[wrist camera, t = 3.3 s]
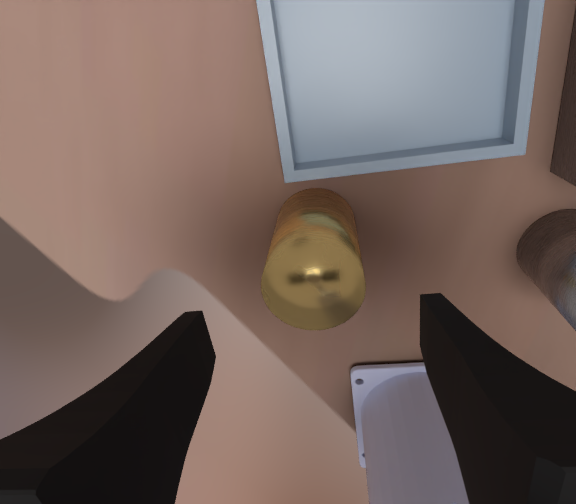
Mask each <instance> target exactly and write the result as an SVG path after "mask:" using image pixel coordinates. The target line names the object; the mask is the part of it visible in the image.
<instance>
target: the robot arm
mask: <svg viewBox="0 0 576 504" xmlns="http://www.w3.org/2000/svg"><path fill="white" fill-rule="evenodd" d="M420 347H421V352H422V356H423V360H424V362H420V363H400V364H381V365H361V366H354V367H353V368H352V369H351V371H350V375H351V385H352V395H353V404H354V414H355V424H356V434H357V443H358V453H359V463H360V466H361V467H363V468H366V474H367V485H368V495H369V504H576V391H574V390H572V389H570V388H568V387H567V386H565V385H563V384H561V383H559V382H557V381H555V380H554V379H552V378H550V377H548V376H547V375H545V374H543V373H542V372H540V371H538V370H537V369H535V368H534V367H532V366H530V365H529V364H527V363H526V362H524V361H523V360H521V359H519V358H518V357H516V356H515V355H514V354H512V353H511V352H509V351H508V350H507V349H505V348H504V347H502V346H501V345H500V344H498V343H497V342H496V341H494V340H493V339H492V338H491V337H489V336H488V335H487V334H486V333H485V332H483V331H482V330H481V329H480V328H479V327H477V326H476V325H475V324H474V323H473V322H472V321H470V320H469V319H468V318H467V317H466V316H465V315H464V314H463V313H462V312H460V311H459V310H458V309H457V308H456V307H455V306H454V305H453V304H452V303H451V302H450V301H449V300H448V299H447V298H445V297H444V296H443V295H442V294H441V293H435V294H421V295H420ZM215 358H216V355H215V352H214V349H213V345H212V342H211V339H210V335H209V332H208V329H207V325H206V322H205V319H204V315H203V312H202V311H191V312H185V313H183V314H182V315H181V316H180V317H178V318H177V319H176V320H175V321H174V322H173V323H172V324H171V325H170V326H168V327H167V328H166V329H165V330H164V331H163V332H162V333H161V334H160V335H158V336H157V337H156V338H155V339H154V340H153V341H152V342H151V343H150V344H148V345H147V346H146V347H145V348H144V349H143V350H141V352H139V353H138V354H137V355H135V356H134V357H133V358H132V359H131V360H129V361H128V362H127V363H126V364H124V365H123V366H122V367H121V368H120V369H118V370H117V371H116V372H114V373H113V374H112V375H110V376H109V377H108V378H106V379H105V380H104V381H102V382H101V383H99V384H98V385H97V386H95V387H94V388H92V389H91V390H89V391H88V392H86V393H85V394H83V395H81V396H80V397H78V398H77V399H75V400H74V401H72V402H70V403H68V404H67V405H65V406H63V407H62V408H61V409H59V410H57V411H55V412H54V413H52V414H50V415H48V416H46V417H44V418H43V419H41V420H39V421H37V422H35V423H33V424H31V425H29V426H27V427H26V428H24V429H21V430H20V431H17V432H15V433H13V434H11V435H10V436H7V437H5V438H3V439H1V440H0V504H175V500H176V495H177V490H178V486H179V482H180V477H181V473H182V469H183V465H184V461H185V457H186V454H187V450H188V447H189V444H190V441H191V438H192V436H193V433H194V430H195V427H196V424H197V421H198V419H199V416H200V413H201V410H202V407H203V404H204V401H205V398H206V396H207V392H208V390H209V386H210V383H211V379H212V374H213V370H214V364H215ZM357 379H362V380H357Z"/></svg>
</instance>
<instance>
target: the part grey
mask: <svg viewBox="0 0 576 504" xmlns="http://www.w3.org/2000/svg"><path fill="white" fill-rule="evenodd" d="M517 260H518V263H519V265H520V267H521V268H522V270H523V271H524V272H525V273H526V274H527V276H528V277H529V278H530V279H531V280H532V281H533V282H534V284H535V285H536V286H537V287H538V288H539V289H540V290H541V292H542V293H543V294H544V295H545V296H546V297H547V299H548V300H549V301H550V302H551V303H552V304H553V305H554V307H555V308H556V309H557V310H558V311H559V312H560V313H561V315H562V316H563V317H564V318H565V319H566V320H567V321H568V323H569V324H570V325H571V326H572V327H573V328H574V330H575V331H576V209H565V210H559V211H555V212H552V213H550V214H547V215H545V216H543V217H541V218H540V219H538V220H537V221H535V222H534V223H533V224H532V225H531V226H530V227H529V228H528V229H527V230H526V231H525V232H524V234H523V235H522V237H521V239H520V241H519V243H518V247H517Z"/></svg>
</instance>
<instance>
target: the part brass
mask: <svg viewBox="0 0 576 504" xmlns="http://www.w3.org/2000/svg"><path fill="white" fill-rule="evenodd" d="M261 291H262V295H263V299H264V301H265V303H266V305H267V306H268V308H269V309H270V311H271V312H272V313H273V314H274V315H275V316H276V317H277V318H279V319H280V320H281V321H283V322H285V323H287V324H289V325H291V326H293V327H296V328H300V329H305V330H325V329H329V328H333V327H336V326H338V325H340V324H342V323H344V322H346V321H347V320H349V319H350V318H351V317H352V316H353V315H354V314H355V313H356V312H357V311H358V309H359V308H360V306H361V304H362V302H363V300H364V297H365V291H366V284H365V277H364V271H363V265H362V260H361V254H360V248H359V242H358V236H357V230H356V224H355V218H354V214H353V211H352V209H351V207H350V206H349V204H348V203H347V202H346V201H345V200H344V199H343V198H342V197H341V196H340V195H338V194H336V193H334V192H332V191H330V190H326V189H321V188H311V189H306V190H303V191H300V192H298V193H296V194H294V195H293V196H291V197H290V198H289V199H288V200H287V201H286V202H285V203H284V205H283V206H282V208H281V210H280V212H279V215H278V219H277V222H276V226H275V230H274V234H273V237H272V241H271V245H270V249H269V252H268V256H267V260H266V263H265V267H264V271H263V275H262V280H261Z"/></svg>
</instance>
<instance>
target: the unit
mask: <svg viewBox="0 0 576 504" xmlns="http://www.w3.org/2000/svg"><path fill="white" fill-rule="evenodd" d="M550 172H552V173H554V174H555V175H557V176H559V177H561V178H562V179H564V180H566V181H568V182H569V183H571V184H573V185H575V186H576V12H575V18H574V25H573V31H572V37H571V44H570V50H569V56H568V63H567V69H566V75H565V82H564V88H563V95H562V101H561V107H560V114H559V120H558V126H557V133H556V139H555V145H554V152H553V158H552V164H551V171H550Z"/></svg>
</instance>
